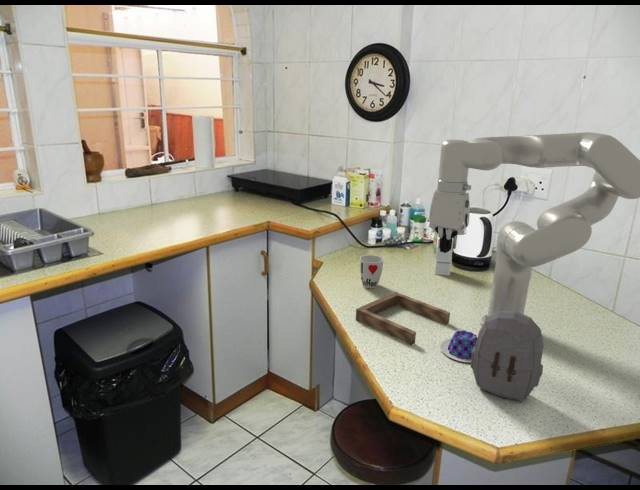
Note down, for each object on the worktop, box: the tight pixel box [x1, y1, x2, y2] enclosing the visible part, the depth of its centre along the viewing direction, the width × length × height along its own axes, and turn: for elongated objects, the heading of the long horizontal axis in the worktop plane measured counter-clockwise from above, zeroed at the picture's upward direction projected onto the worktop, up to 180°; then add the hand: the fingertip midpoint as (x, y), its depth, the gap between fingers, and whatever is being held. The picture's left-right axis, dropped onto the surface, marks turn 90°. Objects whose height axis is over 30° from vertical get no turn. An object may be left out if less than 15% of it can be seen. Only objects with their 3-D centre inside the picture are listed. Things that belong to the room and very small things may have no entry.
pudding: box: [439, 330, 478, 364], centre depth 122 cm, size 12×12×5 cm
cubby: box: [355, 291, 451, 346], centre depth 138 cm, size 20×19×4 cm
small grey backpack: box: [470, 311, 545, 401], centre depth 103 cm, size 15×8×20 cm, turn 59°
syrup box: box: [434, 236, 454, 276], centre depth 176 cm, size 6×6×14 cm
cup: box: [359, 254, 384, 289], centre depth 162 cm, size 8×8×10 cm
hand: (444, 251), depth 131 cm, fingers closed
